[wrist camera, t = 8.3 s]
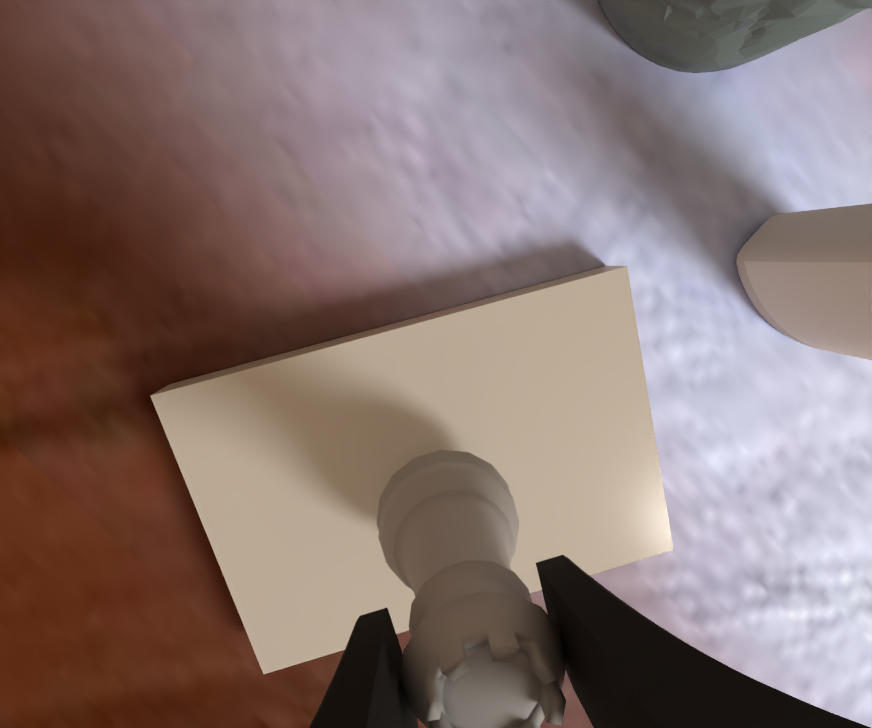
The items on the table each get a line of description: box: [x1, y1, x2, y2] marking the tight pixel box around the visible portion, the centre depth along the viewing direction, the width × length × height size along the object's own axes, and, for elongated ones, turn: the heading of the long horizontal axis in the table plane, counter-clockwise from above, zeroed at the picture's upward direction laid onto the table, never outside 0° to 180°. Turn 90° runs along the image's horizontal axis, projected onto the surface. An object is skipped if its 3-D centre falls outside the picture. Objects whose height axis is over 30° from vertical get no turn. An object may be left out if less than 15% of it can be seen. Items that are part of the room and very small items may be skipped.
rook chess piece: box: [377, 450, 567, 728], centre depth 13 cm, size 4×4×8 cm
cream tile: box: [151, 266, 673, 674], centre depth 18 cm, size 16×11×2 cm
